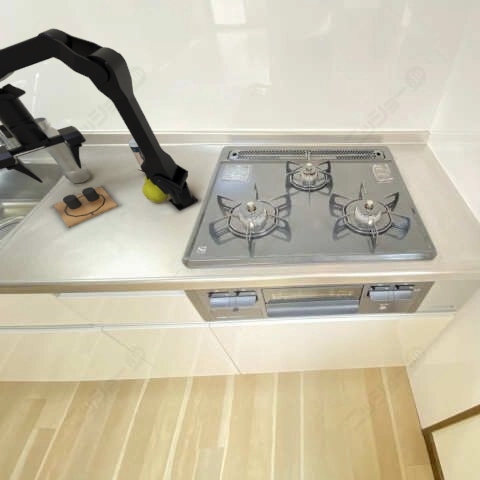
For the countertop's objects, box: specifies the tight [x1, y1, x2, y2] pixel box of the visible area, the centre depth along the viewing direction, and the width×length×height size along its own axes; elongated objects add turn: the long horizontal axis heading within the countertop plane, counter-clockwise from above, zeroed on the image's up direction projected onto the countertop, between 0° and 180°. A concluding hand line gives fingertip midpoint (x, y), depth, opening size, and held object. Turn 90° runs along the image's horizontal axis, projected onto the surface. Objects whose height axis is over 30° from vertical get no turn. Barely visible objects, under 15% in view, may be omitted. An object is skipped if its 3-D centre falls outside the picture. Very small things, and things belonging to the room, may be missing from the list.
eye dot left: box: [62, 194, 82, 209], centre depth 82 cm, size 3×3×3 cm
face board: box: [53, 185, 118, 229], centre depth 83 cm, size 13×13×1 cm
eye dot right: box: [81, 186, 99, 202], centre depth 84 cm, size 3×3×3 cm
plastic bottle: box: [34, 117, 92, 184], centre depth 85 cm, size 6×7×20 cm
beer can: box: [128, 137, 145, 175], centre depth 92 cm, size 5×5×12 cm
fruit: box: [137, 168, 170, 204], centre depth 82 cm, size 7×7×12 cm
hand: (61, 174), depth 76 cm, fingers open, 9 cm apart
